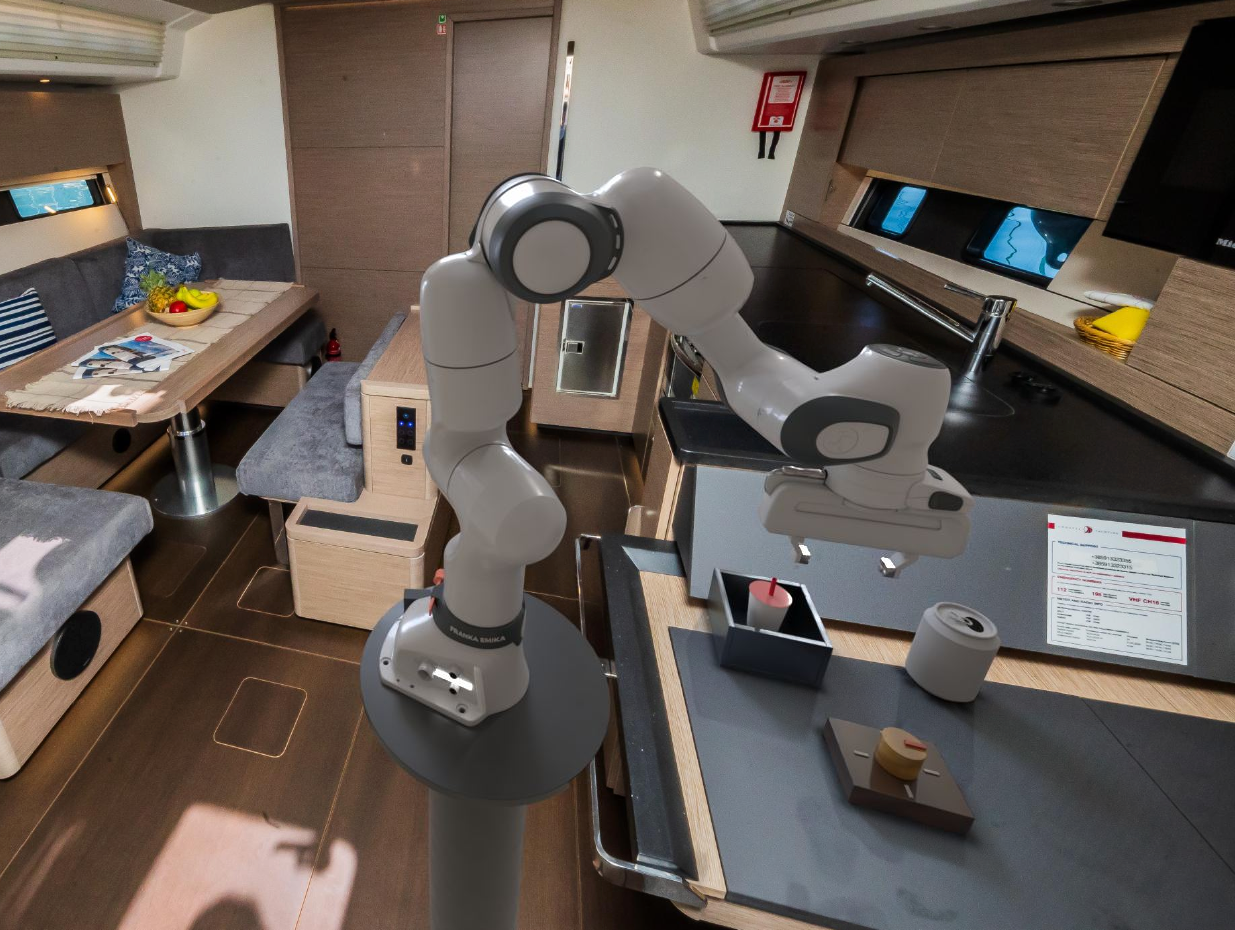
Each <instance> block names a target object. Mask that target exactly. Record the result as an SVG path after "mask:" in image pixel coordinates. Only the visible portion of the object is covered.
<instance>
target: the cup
mask: <svg viewBox="0 0 1235 930" xmlns="http://www.w3.org/2000/svg"><path fill="white" fill-rule="evenodd" d="M771 578H772V580H771V582H767V581H755V582H752V583H751V584H750V586H749V589H750V595H749V604H748V615H747V626H749V627H754V628H759V629H763V630H768V631H773V632H778V630H779V627H780V625H781V623H782V621H783V619H784V616H785V614H786V612H787V610H788V608H789V606H790V605H791V603H792V598H791V596H790V594H789V593H788V592H787V591H786V590H784V589H783V588H782V587H780V586H778V585H776V582H777V579H778V578H777V577H774V576H773V577H771Z"/></svg>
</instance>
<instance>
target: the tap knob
mask: <svg viewBox="0 0 1235 930" xmlns="http://www.w3.org/2000/svg"><path fill="white" fill-rule="evenodd" d="M882 730H883V731H882V733H881V736H880V738H879V741H878V743H877V746H876V748H875V751H874V755H875V758H876V760H877V761H878V763H879V764H880V765H881V766H882V767H883V768H884V769H885V770H886V771H888V772H889V773H891V774H892V775H894V776H896V777H898V778H901V779H904V780H914V779H916V778H917V777H918V774H919V772H920V770H921V768H922V765H923V763H924V761H925V759H926V757H927V752H926V749H927V748H926V746H925V745H924V744H922V743H921V742H920V741H919V740H918V739H919V738H917V737H916V736H914V735H913V734H911V733H910V732H908V731H906V730H904V729H902V728H900V727H895V726H887V727H884V728H883V729H882Z"/></svg>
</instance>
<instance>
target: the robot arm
mask: <svg viewBox="0 0 1235 930" xmlns="http://www.w3.org/2000/svg"><path fill="white" fill-rule="evenodd" d="M468 246H469V249H468V250H466V251H463V252H458V253H452V254H449V255H446V256H444V257H441V258H440V259H438V260H437V261H435V262H434V263H432V264H431V265H430V266H429V267H428V268H427V269H426V270H425V272H424V274H423V275H422V278H421V281H420V286H419V287H420V288H419V329H420V341H421V342H420V343H421V350H422V357H423V362H424V369H425V370H424V371H425V376H426V382H427V388H428V395H429V402H430V427H429V429H428V430H427V431H426V433H425V435H424V437H423V439H422V444H421V454H422V458H423V462H424V464H425V466H426V469H427V472H428V474H429V476H430V479H431V481H432V482H433V483H434V484H435V486H436V487H437V488H438V490H439V491H440V492H441V494H442V495H443V496H444V498H445V499H446V500H447V502H448V503H449V505H451V507H452V509H453V510H454V513H455V515H456V517H457V520H458V523H459V528H460V532H459V533H457V534H456V535H454V536H453V537H452V538H451V539H450V540H449V541H448V542H447V544H446V545H445V548H444V551H443V568H439V569H438V568H437V570H436V572H435V575H434V577H433V583H434V586H435V585H436V586H435V587H434V588H433V590H432V592H431V590H424V589H425V588H422V589H421V588H404V589H403V599H404V615H402V616H401V617H400V618H399V619H398V620H397V621H396V622H395V623H394V625H393V626H392V627H391V629H390V631H389V632H388V634H387V636H386V639H385V641H384V644H383V647H382V650H381V654H380V661H379V673H380V678H381V681H382V682H383V683H384V684H386V685H388V686H389V687H391V688H393V689H395V690H397V691H399V692H401V693H403V694H405V695H407V696H409V697H411V698H413V699H415V700H417V701H419V702H421V703H423V704H425V705H427V706H429V707H431V708H433V709H435V710H437V711H439V712H441V713H443V714H445V715H446V716H448V717H450V718H452V719H454V720H456V721H458V722H460V723H462V724H464V725H466V726H475V725H477V724H479V723H480V722H481V721H482V720H484V719H485V718H486V717H487V716H489V715H491V714H494V713H498V712H501V711H504V710H507V709H509V708H511V707H512V706H514V705H515V704H517V703H518V702H519V701H520V700H521V699H522V697H523V696H524V694H525V692H526V690H527V688H528V684H529V670H528V666H527V663H526V660H525V656H524V651H523V643H522V639H523V636H524V631H525V620H526V609H525V599H524V596H523V592H524V586H525V577H526V575H525V574H526V568H527V567H526V566H528V565H533V564H536V563H538V562H540V561H542V560H544V559H546V558H547V557H549V556H550V555H551V554H552V553H553V552H554V551H555V550H556V549H557V548H558V546H559V545H560V543H561V541H562V539H563V537H564V535H565V532H566V528H567V521H568V519H567V517H568V516H567V511H566V509H565V507H564V505H563V504H562V502H561V500H560V499H559V497H558V495H557V493H556V492H555V491H554V489H553V488H552V487H551V485H550V484H549V482H548V481H547V480H546V478H545V477H544V476H543V475H542V474H541V473H540V472H539V471H537V470H536V469H535V468H534V467H533V466H532V465H531V464H530V463H528V462H527V460H525V459H524V458H523V457H522V456H521V455H520V454H519V453H518V452H517V451H516V450H515V449H514V447H513V445H512V444H511V442H510V440H509V437H508V435H507V434H508V433H507V422H508V421H509V420H511V419H512V418H513V417H514V416H515V415H516V414H517V413H518V412H519V410H520V409H521V406H522V402H523V390H522V389H523V388H522V378H521V366H520V353H519V342H518V334H517V322H516V316H517V315H516V314H517V308H518V304H519V301H520V300H522V301H525V302H528V303H531V304H536V305H551V304H557V303H560V302H564V301H566V300H568V299H571V298H573V297H576V296H577V295H578V294H580V293H582V292H583V291H585V290H586V289H588V288H589V287H590V286H591V285H593V284H596V283H598V282H601V281H603V280H605V279H607V278H609V277H611V278H612V279H613V280H614V281H615V282H616V283H617V284H618V285H619V286H620V287H621V289H622V290H623V291H624V292H625V294H626V295H627V296H629V298H630V299H631V300H632V301H633V302H634V303H635V304H636V305H637V306H638V308H640V309H641V310H642V311H643V312H644V313H645V314H646V315H648V316H649V317H650V318H651V319H652V320H653V321H655V322H656V323H658V325H660V326H661V327H662V328H664V329H666V330H668V331H669V332H670V333H672V334H674V335H675V336H679V337H680V336H681V337H685V338H686V339H687V340H688V341H689V343H690V344H691V345H692V346H693V347H694V349H695V350H696V351H697V352H698V353H699V355H700V356H701V357H702V358H703V359H704V361H705V362H706V363H707V364H708V365H709V367H710V369H711V372H712V374H713V377H714V382H715V385H716V390H717V394H718V397H719V399H720V401H721V403H722V404H723V406H724V407H725V408H726V409H727V410H728V411H730V412H731V413H732V414H734V415H735V416H736V417H738V418H740V419H741V420H743V421H744V422H745V423H746V424H748V425H749V426H750V427H751V428H752V429H754V430H755V431H756V432H757V433H758V434H759V435H761V436H762V437H763V438H764V439H765V440H766V441H768V442H769V443H770V444H771V445H773V446H774V447H775V448H776V449H777V450H779V451H780V452H781V453H783V454H784V455H785V456H787V457H788V458H790V459H791V460H792V461H794V462H795V463H798V464H800V465H803V466H808V467H809V468H806V467H796V466H794V465H793V466H792V465H782V466H781V467H780V468H775V469H772V470H771V471H769V472H768V473H766V477H765V480H764V484H763V486H764V487H763V489H764V491H763V493H762V496H761V499H760V502H759V504H758V508H757V515H758V516H757V517H758V519H759V521H760V524H761V526H763V528H764V529H765V530H766V532H768V533H770V534H774V535H782V536H787V537H788V539H789V542H790V544H791V545H792V548H791V551H790V557H791V560H792V562H793V563H794V564H795V563H796V564H800V565H808V564H809V563H810V562H809V560H810V559H811V553H810V551H809V550H808V546H807V545H800V544H804V542H805V539H807V540H808V539H809V540H815V541H821V542H828V543H829V542H830V543H835V544H842V545H848V546H849V545H850V546H857V547H863V548H869V549H870V548H871V549H875V550H883V551H890V552H895V553H894V554H893V555H891V556H890V557H889V558H886V557H880V560H879V564H878V566H877V569H878V572H879V573H880V576H882V577H884V578H889V579H894V580H898V579H899V578H900V575H901V573H902V570H904V569H906V568H908V567H910V566H911V565H913V564H914V563H916V562H918V561H919V557H920V556H924V557H931V558H937V559H945V560H953V559H955V558H957V557H959V556H961V555H963V554H964V553H965V550H966V548H967V545H968V542H969V539H970V535H971V531H972V519H971V517H970V515H969V514H968V513H970V512H971V511H972V510H973V509H974V507H975V504H976V501H975V499H974V498H973V496H972V495H971V494H970V492H968V490H967V489H966V488H965V487H964V486H963V485H962V484H961V483H960V482H959V481H957V480H956V478H954V477H953V476H952V475H951V474H950V473H948V472H947V471H946V470H944V469H942V468H940V467H938V466H934V465H931V464H929V455H928V454H929V453H928V452H929V448H930V446H931V445H932V443H933V442H934V441H935V440H936V439H937V437H939V434H940V431H941V429H942V426H943V423H944V420H945V416H946V414H947V410H948V405H949V402H950V397H951V388H952V378H951V377H952V376H951V372H950V369H949V368H948V366H947V365H945V364H944V363H943V362H942V361H940V360H938V359H937V358H934V357H932V356H930V355H928V354H926V353H923V352H920V351H918V350H913V349H909V348H907V347H904V346H899V345H898V346H897V345H893V344H888V343H874V344H868V345H865V346H864V348H863V349H862V350H861V352H859V354H858V355H857V356H856V357H854V358H852V359H851V360H850V361H848V362H846V363H844V364H842V365H840V366H838V367H835V368H833V369H830V370H827V371H825V372H818V371H816V370H814V369H812V368H811V367H809V366H808V365H805V363H804V364H803V363H802V362H801V361H800V360H798V359H797V358H795V357H794V356H793V355H792V354H790V353H788V352H787V351H785V350H783V349H782V348H779V347H776V346H774V345H771V344H768V343H765V342H763V341H761V340H760V339H759V338H758V336H757V335H756V334H755V333H754V331H753V330H752V329H751V327H750V326H749V325H748V323H747V322H746V321H745V319H744V318H743V317H742V316H741V315H740V313H739V312H740V310H741V309H742V308H743V307H744V306H745V304H746V303H747V301H748V300H749V297H750V295H751V293H752V290H753V286H754V281H755V275H754V272H753V270H752V268H751V266H750V264H749V260H748V259H747V257H746V255H745V254H744V252H743V250H742V249H741V247H740V246H739V244H738V243H737V242H736V240H735V239H734V238H733V236H732V235H731V234H730V233H729V231H728V230H727V229H726V228H725V226H724V225H723V224H722V223H721V222H720V221H719V220H718V218H717V217H716V216H715V215H714V214H713V213H712V211H710V210H709V209H708V207H707V206H705V204H704V203H703V202H701V200H700V199H698V198H697V197H696V196H695V195H694V194H693V193H692V192H690V191H689V190H688V189H687V188H685V187H684V186H683V185H682V184H681V183H679V181H677V180H676V179H674V178H673V177H672V176H670V175H669V174H668V173H666V172H665V171H663V170H661V169H659V168H655V167H650V166H640V167H635V168H632V169H629V170H626V171H623V172H621V173H619V174H617V175H615V176H614V177H612V178H611V179H610V180H608V181H607V182H605V183H604V184H603V185H602V186H601V187H600V188H599V189H597V190H594V191H593V192H590V193H579V192H577V191H575V190H574V189H572V188H571V186H569V185H567V184H565V183H563V182H561V181H560V180H558V179H555V178H554V177H553V176H550V175H548V174H545V173H542V172H537V171H536V172H535V171H528V172H527V171H526V172H520V173H517V174H514V175H513V174H512V175H511V176H508V177H507V178H505V179H504V180H502V181H500V182H499V183H498V184H497V185H496V186H495V187H494V188H493V189H492V190H491V191H490V193H489V194H488V195H487V197H486V199H485V201H484V202H483V204H482V206H481V208H480V211H479V213H478V215H477V218H476V221H475V223H474V225H473V227H472V230H471V232H470V234H469V236H468ZM811 467H813V468H811ZM815 467H816V468H815ZM817 467H818V468H817ZM820 467H821V468H822V467H823V469H819V468H820ZM384 664H388V665H384ZM460 711H463V712H465V713H460Z"/></svg>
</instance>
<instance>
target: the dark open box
mask: <svg viewBox="0 0 1235 930" xmlns="http://www.w3.org/2000/svg"><path fill="white" fill-rule="evenodd" d="M772 578H773V577H767V576H761V575H756V574H750V573H745V572H740V571H735V570H729V569H723V568H720V567H719V568H718V567H713V571H712V576H711V580H710V585H709V589H708V595H707V600H706V609H707V614H708V619H709V622H710V627H711V632H712V636H713V640H714V646H715V650H716V654H717V659H718V664H719V666H721V667H724V668H725V667H726V668H729V669H733V670H736V671H737V670H738V671H742V672H746V673H751V674H754V675H759V676H763V677H766V678H772V679H776V680H780V681H785V682H788V683H792V684H796V685H801V686H806V687H811V688H814V689H819V690H821V688H822V685H823V682H824V679H825V676H826V673H827V670H828V666H829V663H830V661H831V658H832V654H833V651H834V649H835V648H834V646H833V643H832V641H831V639H830V637H829V635H828V633H827V630H826V628H825V625H824V623H823V621H822V619H821V617H820V615H819V612H818V610H817V608H816V605H815V603H814V600H813V599H812V596H811V594H810V591H809V590H808V587H807V586H806V585H807V584H804V583H800V582H794V581H788V580H783V579H778V578H777V582H776V585H778V586H780V587H782V588H783V589H784V590H786V591H787V592H788V593H789V594H790V596H791V598H792V603H791V605H790V606H789V608H788V610H787V612H786V614H785V616H784V619H783V621H782V623H781V625H780V627H779V630H778V632H773V631H768V630H763V629H759V628H754V627H749V626H747V615H748V604H749V595H750V589H749V586H750V584H751V583H752V582H755V581H767V582H771V580H772Z"/></svg>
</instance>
